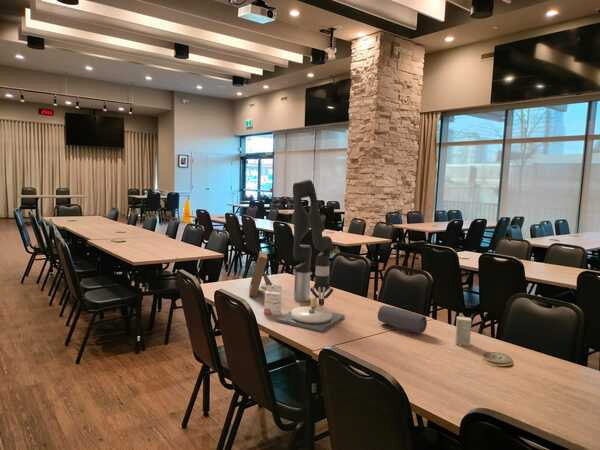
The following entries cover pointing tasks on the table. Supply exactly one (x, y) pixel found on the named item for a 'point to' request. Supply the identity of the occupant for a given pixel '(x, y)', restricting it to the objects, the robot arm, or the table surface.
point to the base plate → (313, 326)
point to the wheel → (311, 313)
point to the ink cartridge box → (272, 300)
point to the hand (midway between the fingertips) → (321, 305)
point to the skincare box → (463, 331)
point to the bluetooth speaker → (402, 319)
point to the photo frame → (259, 274)
